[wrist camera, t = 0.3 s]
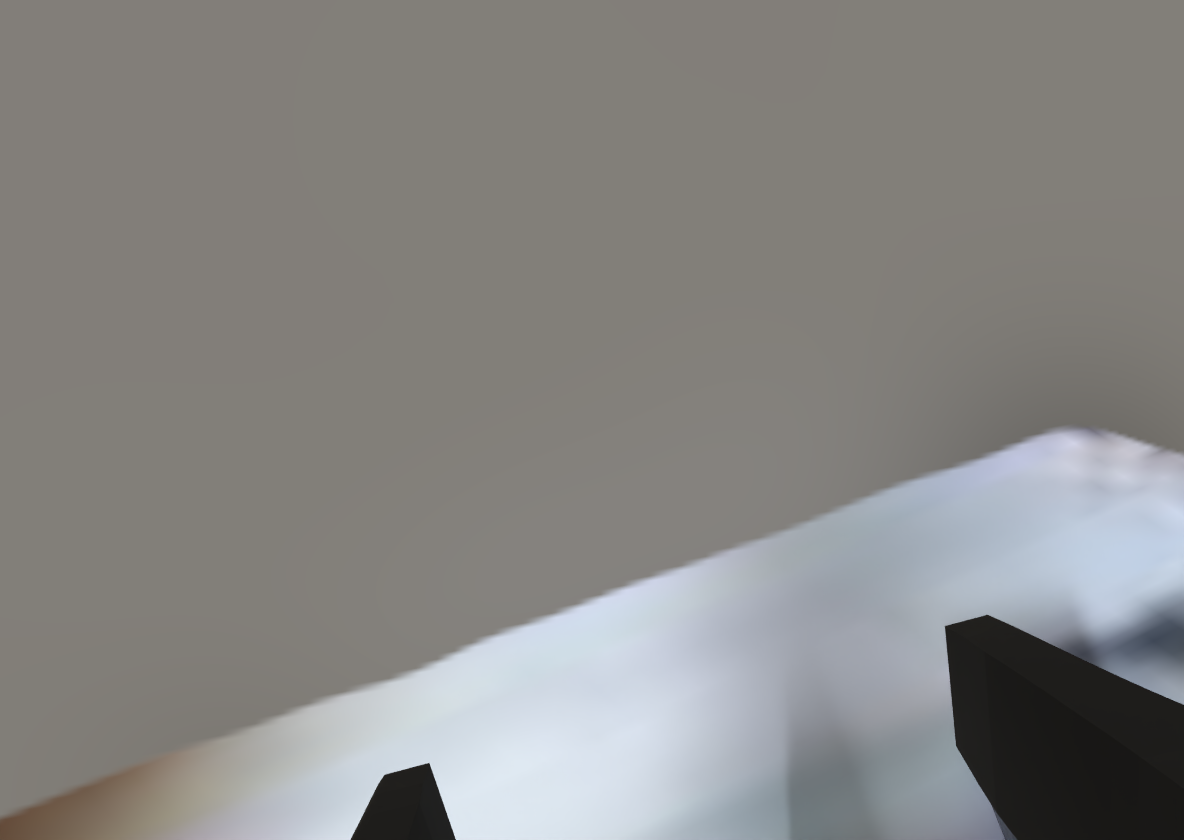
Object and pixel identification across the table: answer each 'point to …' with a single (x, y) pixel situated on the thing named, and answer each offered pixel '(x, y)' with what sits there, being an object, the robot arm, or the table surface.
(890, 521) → the table surface
